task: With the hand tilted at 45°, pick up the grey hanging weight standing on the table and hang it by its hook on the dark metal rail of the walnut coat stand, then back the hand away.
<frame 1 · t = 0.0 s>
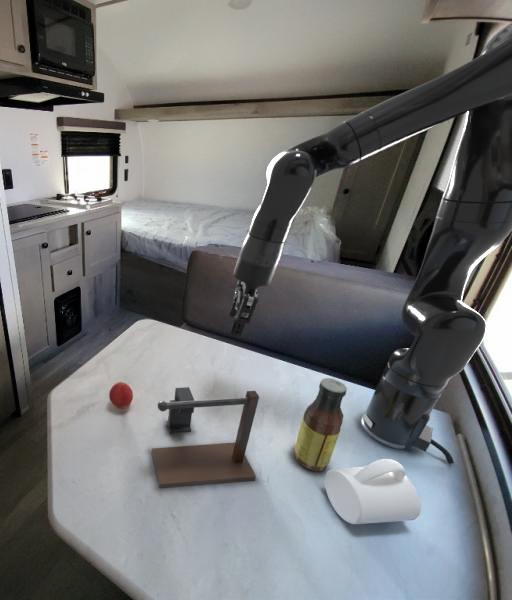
hand: (234, 325, 72), 22 cm above the table, tool pointing down, fingers open, 8 cm apart
sauce bottle: (308, 460, 67), on the table
grey hanging weight: (178, 427, 74), on the table
mug: (361, 508, 58), on the table
rack: (208, 465, 66), on the table
onion: (121, 407, 81), on the table
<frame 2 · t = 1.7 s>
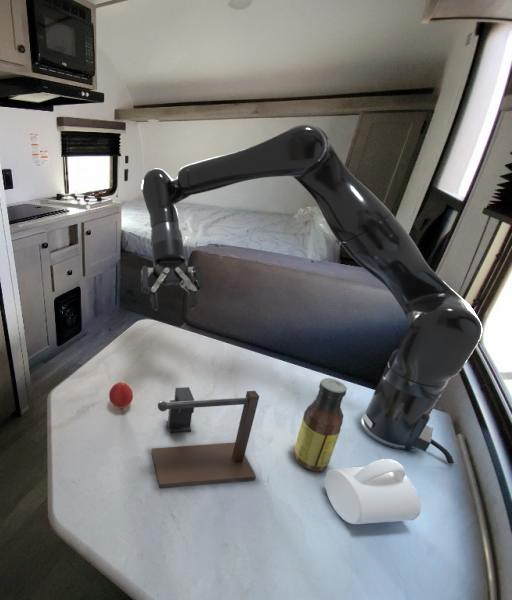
hand: (174, 309, 73), 25 cm above the table, tool tilted 45°, fingers open, 8 cm apart
nothing on the table moved.
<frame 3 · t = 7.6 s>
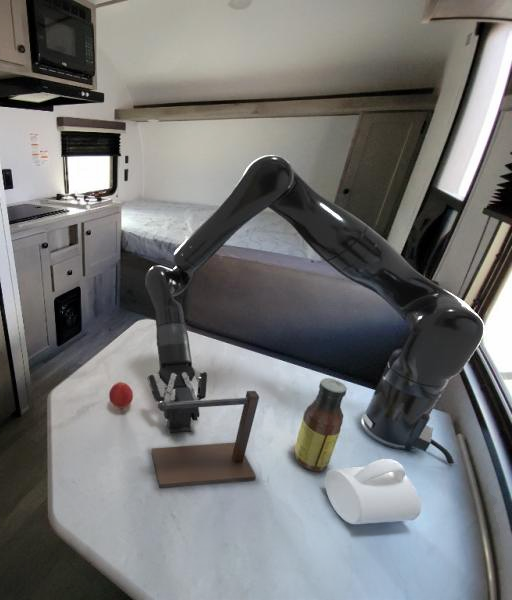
hand: (182, 420, 71), 4 cm above the table, tool tilted 45°, fingers closed on grey hanging weight, 5 cm apart
grey hanging weight: (178, 427, 74), on the table, touching gripper
everything else where it was.
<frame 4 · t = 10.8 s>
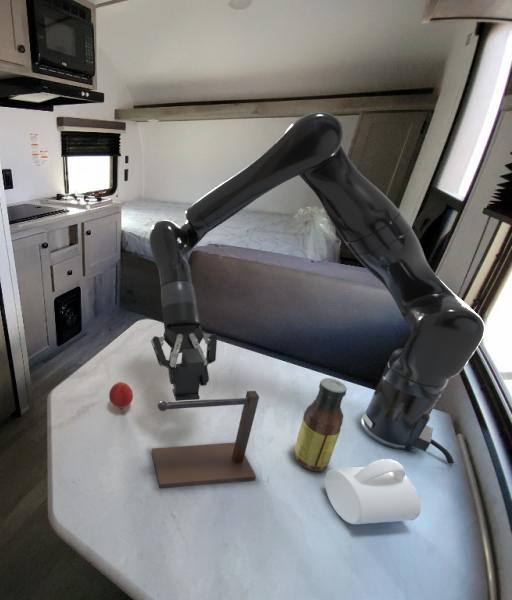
hand: (190, 385, 64), 16 cm above the table, tool tilted 45°, fingers closed on grey hanging weight, 5 cm apart
grey hanging weight: (185, 395, 68), point 11 cm above the table, touching gripper
everything else where it was.
when the fingers open (11 cm above the table, at t = 14.2 s): grey hanging weight moves 3 cm, resting on rack.
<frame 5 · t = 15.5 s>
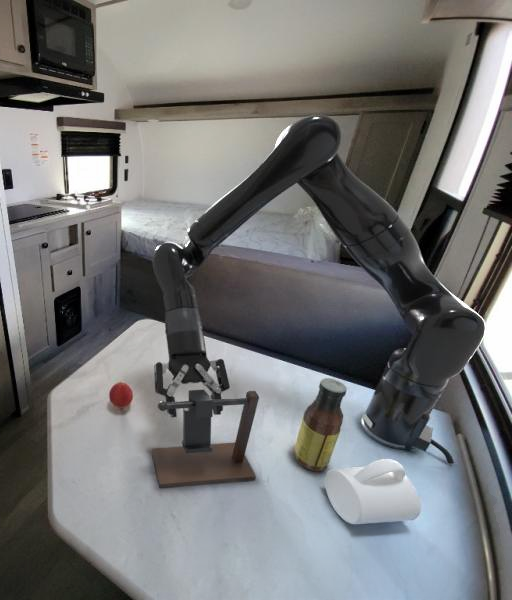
hand: (195, 416, 61), 13 cm above the table, tool tilted 45°, fingers open, 8 cm apart
grey hanging weight: (196, 447, 61), point 7 cm above the table, tilted 17°, touching rack
everything else where it was.
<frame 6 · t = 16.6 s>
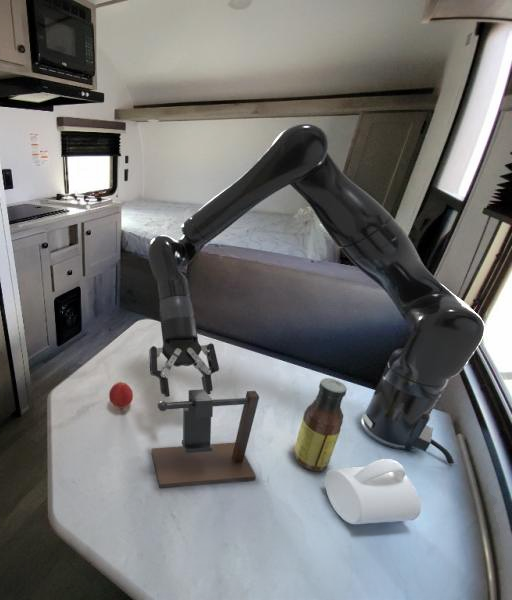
hand: (187, 395, 66), 13 cm above the table, tool tilted 45°, fingers open, 8 cm apart
nothing on the table moved.
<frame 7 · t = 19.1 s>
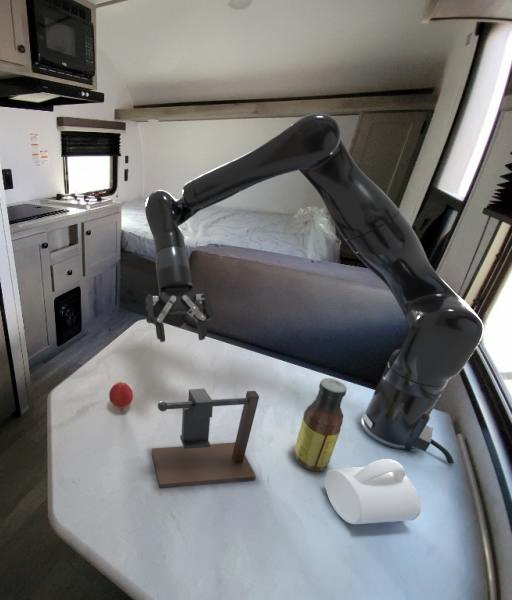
hand: (182, 340, 68), 22 cm above the table, tool tilted 45°, fingers open, 8 cm apart
grey hanging weight: (194, 442, 62), point 7 cm above the table, tilted 11°, touching rack
everything else where it was.
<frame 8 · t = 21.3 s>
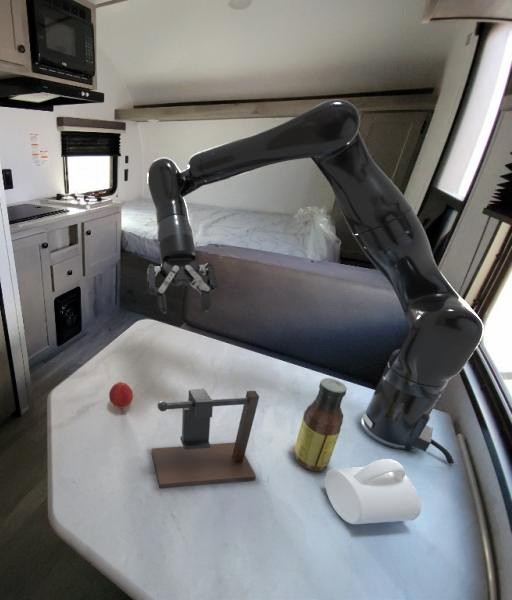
hand: (185, 311, 65), 29 cm above the table, tool tilted 45°, fingers open, 8 cm apart
nothing on the table moved.
at the end: grey hanging weight inside the target area on the rack (1.1 cm from its centre), point 6.9 cm above the rack's base; grey hanging weight touching rack; the gripper is holding nothing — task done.
